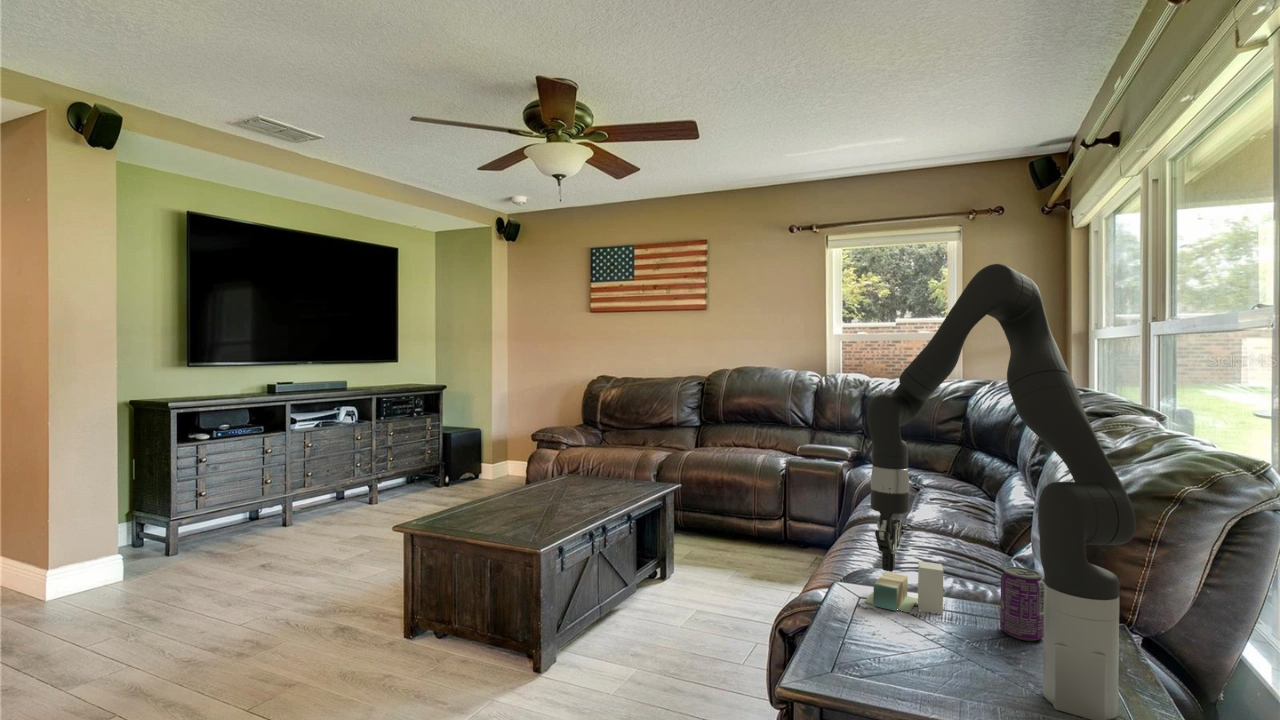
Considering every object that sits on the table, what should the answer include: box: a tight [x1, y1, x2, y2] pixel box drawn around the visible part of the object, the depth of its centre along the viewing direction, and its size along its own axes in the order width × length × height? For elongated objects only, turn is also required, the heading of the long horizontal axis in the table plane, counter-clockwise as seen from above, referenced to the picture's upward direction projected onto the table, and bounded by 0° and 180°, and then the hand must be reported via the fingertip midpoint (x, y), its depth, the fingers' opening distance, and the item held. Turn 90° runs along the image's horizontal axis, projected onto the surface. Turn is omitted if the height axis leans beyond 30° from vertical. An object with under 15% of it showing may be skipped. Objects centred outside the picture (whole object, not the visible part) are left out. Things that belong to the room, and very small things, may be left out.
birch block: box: [873, 571, 908, 612], centre depth 131 cm, size 4×4×10 cm
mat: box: [863, 591, 918, 613], centre depth 132 cm, size 9×9×1 cm
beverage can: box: [999, 566, 1044, 642], centre depth 116 cm, size 7×7×12 cm
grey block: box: [917, 560, 944, 615], centre depth 128 cm, size 4×4×9 cm
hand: (888, 570), depth 129 cm, fingers closed
